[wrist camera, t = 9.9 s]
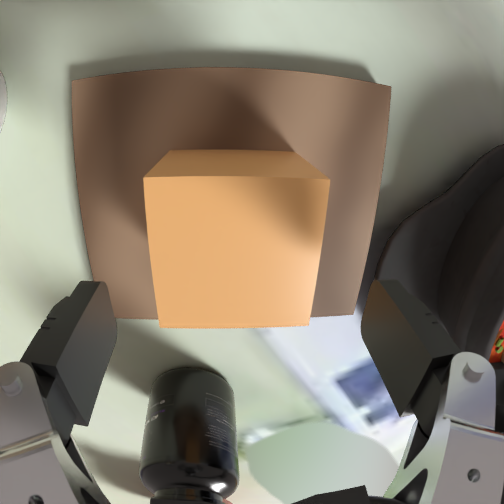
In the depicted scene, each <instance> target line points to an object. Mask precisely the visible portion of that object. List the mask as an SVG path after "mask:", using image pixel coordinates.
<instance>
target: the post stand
mask: <svg viewBox="0 0 504 504" xmlns="http://www.w3.org/2000/svg"><path fill="white" fill-rule="evenodd" d="M390 99H391V86H386V85H382V84H377V83H372V82H367V81H362V80H356V79H350V78H344V77H338V76H331V75H324V74H316V73H308V72H299V71H288V70H276V69H261V68H236V67H196V68H171V69H156V70H144V71H134V72H125V73H117V74H109V75H102V76H96V77H90V78H84V79H78V80H73V81H72V124H73V142H74V156H75V167H76V177H77V186H78V194H79V202H80V209H81V216H82V222H83V228H84V234H85V240H86V245H87V250H88V256H89V261H90V265H91V270H92V275H93V279H94V281H103V282H105V283H106V285H107V287H108V291H109V295H110V300H111V304H112V308H113V312H114V316H115V318H127V319H158V313H157V306H156V299H155V292H154V285H153V277H152V269H151V261H150V252H149V243H148V233H147V222H146V211H145V197H144V182H143V177H144V176H145V175H146V174H147V173H148V172H149V171H150V170H151V169H152V168H153V167H154V166H155V165H156V164H157V163H158V162H159V161H160V160H161V159H162V158H163V157H164V156H165V155H166V154H167V153H168V152H169V151H170V150H265V151H288V152H296V153H297V154H298V155H300V156H301V157H302V158H304V159H305V160H306V161H308V162H309V163H310V164H311V165H313V166H314V167H315V168H316V169H318V170H319V171H320V172H322V173H323V174H324V175H325V176H327V177H328V178H329V179H330V187H329V196H328V204H327V212H326V219H325V227H324V234H323V241H322V248H321V255H320V261H319V268H318V274H317V280H316V286H315V292H314V298H313V304H312V310H311V315H310V317H324V316H341V315H353V314H354V310H355V306H356V302H357V298H358V294H359V290H360V286H361V282H362V277H363V273H364V269H365V264H366V260H367V255H368V250H369V246H370V241H371V236H372V231H373V225H374V220H375V214H376V209H377V203H378V197H379V191H380V184H381V178H382V171H383V164H384V156H385V148H386V140H387V131H388V121H389V111H390Z"/></svg>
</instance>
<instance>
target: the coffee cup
mask: <svg viewBox="0 0 504 504" xmlns="http://www.w3.org/2000/svg"><path fill="white" fill-rule="evenodd" d="M6 109H7V89H6V84H5V80H4V77H3V75H2V73H1V71H0V132H1V130H2V127H3V124H4V120H5V116H6Z"/></svg>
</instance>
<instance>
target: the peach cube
mask: <svg viewBox="0 0 504 504" xmlns="http://www.w3.org/2000/svg"><path fill="white" fill-rule="evenodd" d="M143 182H144V197H145V211H146V222H147V233H148V243H149V252H150V261H151V269H152V277H153V285H154V292H155V299H156V306H157V313H158V319H159V325H160V328H262V327H289V326H309V321H310V315H311V310H312V304H313V298H314V292H315V286H316V280H317V274H318V268H319V261H320V255H321V248H322V241H323V234H324V227H325V219H326V212H327V204H328V196H329V187H330V179H329V178H328V177H327V176H325V175H324V174H323V173H322V172H320V171H319V170H318V169H316V168H315V167H314V166H313V165H311V164H310V163H309V162H308V161H306V160H305V159H304V158H302V157H301V156H300V155H298V154H297V153H296V152H288V151H265V150H170V151H169V152H168V153H167V154H166V155H165V156H164V157H163V158H162V159H161V160H160V161H159V162H158V163H157V164H156V165H155V166H154V167H153V168H152V169H151V170H150V171H149V172H148V173H147V174H146V175H145V176H144V177H143Z"/></svg>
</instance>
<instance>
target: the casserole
mask: <svg viewBox="0 0 504 504" xmlns="http://www.w3.org/2000/svg"><path fill="white" fill-rule="evenodd" d="M389 279H397V280H398V281H399V282H400V283H401V284H402V285H403V287H404V288H405V289H406V290H407V292H408V293H409V294H412V295H413V296H415V297H416V298H418V299H419V300H420V301H422V302H423V303H424V304H425V305H426V306H427V308H428V309H429V310H430V311H431V313H432V315H434V316H435V318H436V319H437V320H438V323H439V324H441V325H442V327H443V328H444V329H445V330H446V332H447V333H448V334H449V336H450V337H451V338H452V340H453V341H454V342H455V344H456V345H457V346H458V348H459V349H460V350H461V352H472V353H475V354H478V355H480V356H482V357H483V358H485V359H486V360H487V361H488V362H489V363H490V364H491V365H492V367H493V369H500V370H504V144H503V145H500V146H497V147H496V148H494V149H493V150H491V151H490V152H488V153H487V154H485V155H484V156H482V157H481V158H480V159H479V160H478V161H477V162H476V163H475V164H474V165H473V166H472V167H471V168H470V169H469V170H468V171H467V172H466V173H465V174H464V175H463V176H462V177H461V178H460V179H459V180H458V181H457V182H456V183H455V184H454V185H453V186H452V187H451V188H450V189H449V190H448V191H447V192H446V193H444V194H442V195H441V196H439V197H438V198H436V199H435V200H433V201H431V202H430V203H428V204H427V205H425V206H424V207H422V208H421V209H419V210H418V211H417V212H415V213H414V214H412V215H411V216H409V217H408V218H406V219H405V220H404V221H402V223H401V224H400V225H399V227H398V228H397V229H396V231H395V232H394V233H393V234H392V236H391V237H390V238H389V240H388V241H387V243H386V246H385V248H384V250H383V253H382V255H381V257H380V260H379V262H378V265H377V269H376V273H375V278H374V280H389Z"/></svg>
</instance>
